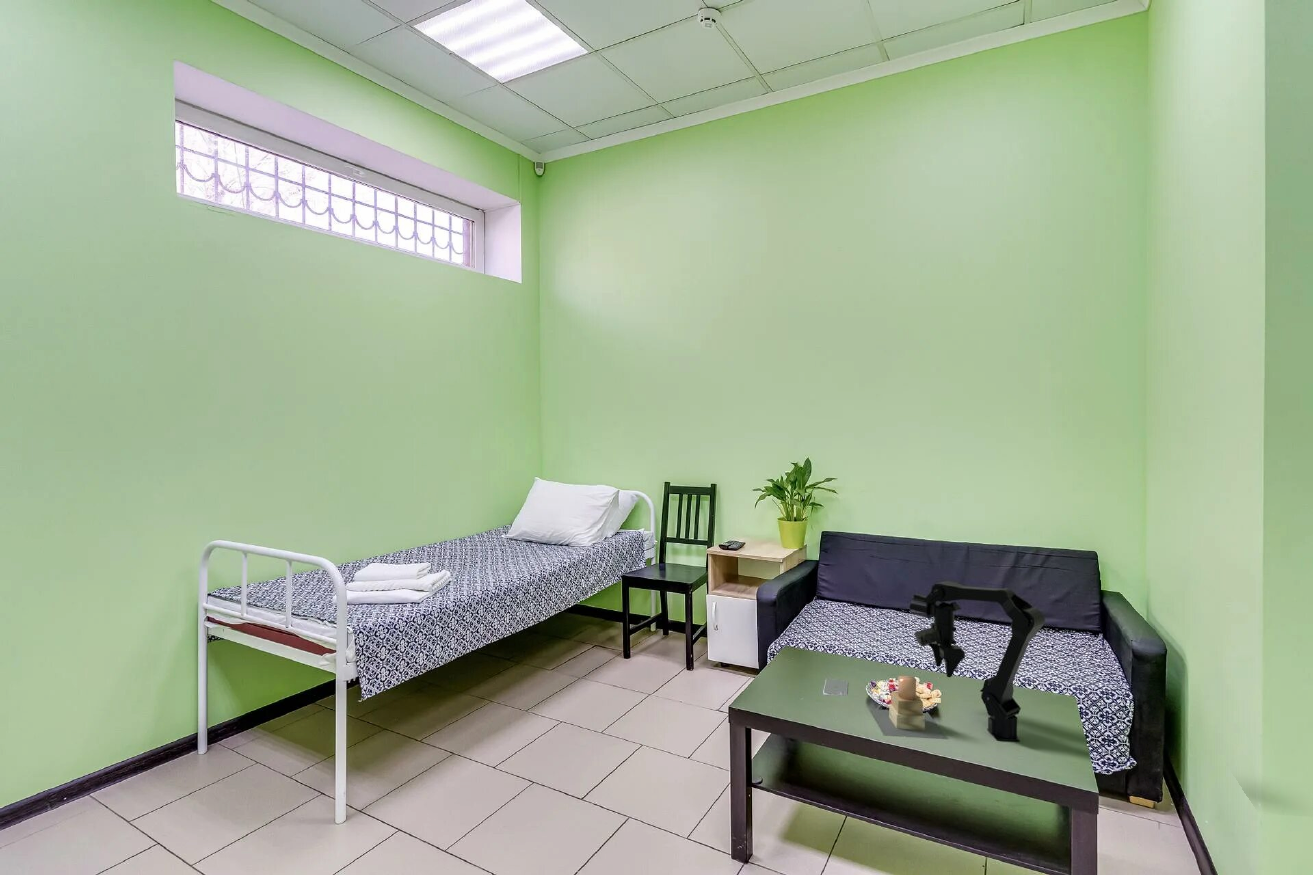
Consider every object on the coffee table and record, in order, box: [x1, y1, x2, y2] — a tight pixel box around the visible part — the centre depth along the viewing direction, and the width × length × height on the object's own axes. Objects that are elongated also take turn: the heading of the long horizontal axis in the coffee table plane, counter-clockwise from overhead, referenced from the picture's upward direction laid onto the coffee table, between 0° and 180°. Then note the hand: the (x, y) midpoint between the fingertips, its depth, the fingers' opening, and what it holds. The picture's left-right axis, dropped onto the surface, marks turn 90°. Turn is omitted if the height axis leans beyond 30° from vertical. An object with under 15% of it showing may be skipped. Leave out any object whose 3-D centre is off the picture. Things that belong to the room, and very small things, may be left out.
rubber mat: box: [868, 708, 949, 740], centre depth 188 cm, size 18×18×1 cm
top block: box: [891, 691, 924, 716], centre depth 188 cm, size 7×7×4 cm
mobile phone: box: [822, 678, 849, 697], centre depth 215 cm, size 8×1×15 cm
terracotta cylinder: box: [897, 674, 917, 700], centre depth 188 cm, size 5×5×6 cm
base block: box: [888, 703, 925, 730], centre depth 188 cm, size 8×8×4 cm
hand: (943, 671), depth 197 cm, fingers open, 9 cm apart
